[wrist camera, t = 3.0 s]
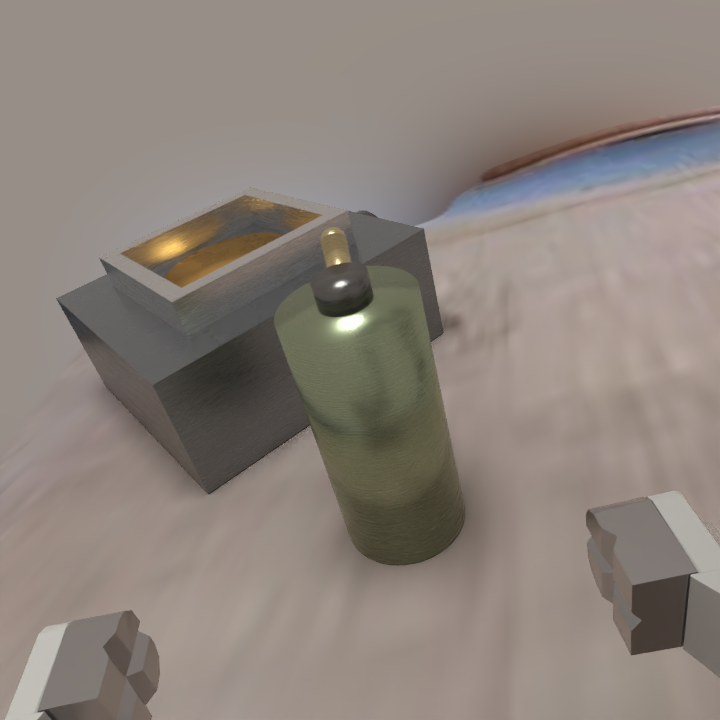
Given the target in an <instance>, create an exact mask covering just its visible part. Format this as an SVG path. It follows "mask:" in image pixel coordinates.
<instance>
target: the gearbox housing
mask: <svg viewBox="0 0 720 720" xmlns="http://www.w3.org/2000/svg"><path fill="white" fill-rule="evenodd" d="M331 227H336V228H339V229H341V230H342V231H343V232H344V233H345V235H346V238H347V243H348V247H349V251H350V255H351V260H352V262H356V263H361V264H363V265H365V266H389V267H395V268H399V269H402V270H404V271H407V272H409V273H410V274H411V275H413V276H414V277H415V278H416V279H417V281H418V283H419V287H420V292H421V297H422V302H423V307H424V312H425V317H426V322H427V326H428V331H429V336H430V341H432V340H434V339H435V338H436V337H438V336H439V335H441V334H442V333H443V328H442V323H441V318H440V312H439V307H438V302H437V296H436V291H435V286H434V281H433V275H432V270H431V265H430V260H429V254H428V249H427V244H426V239H425V233H424V229H422V228H418V227H414V226H410V225H405V224H401V223H397V222H393V221H388V220H384V219H380V218H378V217H376V216H375V215H374V214H372V213H370V212H367V211H358V212H356V213H355V212H351V211H347V210H343V209H339V208H335V207H330V206H326V205H322V204H318V203H314V202H309V201H305V200H301V199H297V198H293V197H288V196H284V195H280V194H276V193H271V192H267V191H263V190H259V189H255V188H248V189H245V190H243V191H241V192H239V193H237V194H235V195H232V196H230V197H228V198H226V199H224V200H222V201H219V202H217V203H215V204H213V205H211V206H209V207H207V208H204V209H202V210H200V211H198V212H196V213H194V214H191V215H189V216H187V217H185V218H183V219H181V220H178V221H176V222H174V223H172V224H170V225H168V226H165V227H163V228H161V229H159V230H157V231H155V232H152V233H151V234H148V235H146V236H144V237H142V238H140V239H137V240H135V241H133V242H131V243H129V244H127V245H124V246H122V247H120V248H118V249H116V250H114V251H111V252H109V253H107V254H105V255H103V256H101V257H99V259H100V261H101V263H102V265H103V267H104V268H105V271H106V272H107V275H105V276H102V277H101V278H98V279H96V280H94V281H92V282H90V283H88V284H86V285H84V286H82V287H79V288H77V289H75V290H73V291H71V292H69V293H67V294H65V295H63V296H61V297H59V298H56V299H57V301H58V302H59V304H60V306H61V308H62V310H63V311H64V313H65V315H66V317H67V318H68V320H69V322H70V324H71V326H72V327H73V329H74V331H75V333H76V334H77V336H78V338H79V340H80V342H81V343H82V345H83V347H84V349H85V350H86V352H87V354H88V356H89V357H90V359H91V361H92V363H93V365H94V366H95V368H96V370H97V372H98V373H99V375H100V377H101V379H102V380H103V382H104V384H105V386H106V387H107V388H108V389H109V390H110V391H111V392H112V393H113V394H114V395H115V396H116V397H117V399H118V400H119V401H120V402H121V403H122V404H123V405H124V406H125V407H126V408H127V409H128V410H129V411H130V412H131V413H132V414H133V415H134V416H135V417H136V418H137V420H138V421H139V422H140V423H141V424H142V425H143V426H144V427H145V428H146V429H147V430H148V431H149V432H150V433H151V434H152V435H153V436H154V437H155V438H156V439H157V440H158V442H159V443H160V444H161V445H162V446H163V447H164V448H165V449H166V450H167V451H168V452H169V453H170V454H171V455H172V456H173V457H174V458H175V459H176V460H177V461H178V463H179V464H180V465H181V466H182V467H183V468H184V469H185V470H186V471H187V472H188V473H189V474H190V475H191V476H192V477H193V478H194V479H195V480H196V481H197V482H198V483H199V485H200V486H201V487H202V488H203V489H204V490H205V491H206V492H207V493H208V494H209V493H211V492H212V491H214V490H215V489H217V488H218V487H219V486H221V485H222V484H224V483H225V482H227V481H228V480H230V479H231V478H233V477H234V476H235V475H237V474H238V473H240V472H241V471H243V470H244V469H246V468H247V467H249V466H250V465H252V464H253V463H254V462H256V461H257V460H259V459H260V458H262V457H263V456H265V455H266V454H268V453H269V452H270V451H272V450H273V449H275V448H276V447H278V446H279V445H281V444H282V443H284V442H285V441H286V440H288V439H289V438H291V437H292V436H294V435H295V434H297V433H298V432H300V431H301V430H302V429H304V428H305V427H307V426H308V425H310V423H309V420H308V417H307V415H306V412H305V409H304V406H303V403H302V401H301V398H300V395H299V392H298V389H297V387H296V384H295V381H294V378H293V376H292V373H291V370H290V367H289V364H288V362H287V359H286V356H285V353H284V350H283V348H282V345H281V342H280V339H279V337H278V334H277V331H276V328H275V325H274V315H275V313H276V310H277V309H278V307H279V305H280V304H281V303H282V302H283V301H284V300H285V299H286V298H287V297H288V296H289V295H290V294H291V293H293V292H294V291H295V290H297V289H298V288H300V287H301V286H303V285H305V284H307V283H309V282H310V281H311V279H312V278H313V276H314V275H315V274H317V273H318V272H320V271H321V270H323V269H325V268H326V266H325V262H324V257H323V252H322V248H321V243H320V239H321V235H322V233H323V232H324V231H325V230H326V229H328V228H331Z"/></svg>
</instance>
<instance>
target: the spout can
mask: <svg viewBox="0 0 720 720" xmlns="http://www.w3.org/2000/svg"><path fill="white" fill-rule="evenodd" d="M320 243H321V248H322V252H323V257H324V262H325V266H326V268H325V269H323V270H321V271H320V272H318V273H317V274H315V275H314V276H313V278H312V279H311V281H310V282H309V283H307V284H305V285H303V286H301V287H300V288H298V289H297V290H295V291H294V292H293V293H291V294H290V295H289V296H288V297H287V298H286V299H285V300H284V301H283V302H282V303H281V304H280V305H279V307H278V309H277V310H276V313H275V315H274V325H275V328H276V331H277V334H278V337H279V339H280V342H281V345H282V348H283V350H284V353H285V356H286V359H287V362H288V364H289V367H290V370H291V373H292V376H293V378H294V381H295V384H296V387H297V389H298V392H299V395H300V398H301V401H302V403H303V406H304V409H305V412H306V415H307V417H308V420H309V423H310V426H311V428H312V431H313V434H314V437H315V440H316V442H317V445H318V448H319V451H320V454H321V456H322V459H323V462H324V465H325V467H326V470H327V473H328V476H329V479H330V481H331V484H332V487H333V490H334V492H335V495H336V498H337V501H338V504H339V506H340V509H341V512H342V515H343V518H344V520H345V523H346V526H347V529H348V531H349V534H350V537H351V540H352V542H353V543H354V545H355V546H356V548H357V549H358V550H359V551H360V552H361V553H362V554H364V555H365V556H367V557H368V558H370V559H372V560H374V561H377V562H380V563H384V564H390V565H407V564H413V563H417V562H421V561H424V560H427V559H429V558H431V557H433V556H435V555H437V554H439V553H440V552H441V551H443V550H444V549H446V548H447V547H448V546H449V545H450V544H451V543H452V542H453V541H454V540H455V538H456V537H457V535H458V534H459V532H460V530H461V528H462V526H463V522H464V517H465V507H464V502H463V498H462V493H461V488H460V483H459V478H458V473H457V468H456V463H455V458H454V454H453V449H452V444H451V439H450V434H449V429H448V424H447V419H446V414H445V410H444V405H443V400H442V395H441V390H440V385H439V380H438V375H437V370H436V366H435V361H434V356H433V351H432V346H431V341H430V336H429V331H428V326H427V322H426V317H425V312H424V307H423V302H422V297H421V292H420V287H419V283H418V281H417V279H416V278H415V277H414V276H413V275H411V274H410V273H409V272H407V271H404V270H402V269H399V268H395V267H389V266H365V265H363V264H361V263H356V262H352V260H351V255H350V251H349V247H348V243H347V238H346V235H345V233H344V232H343V231H342V230H341V229H339V228H336V227H331V228H328V229H326V230H325V231H324V232H323V233H322V235H321V239H320Z"/></svg>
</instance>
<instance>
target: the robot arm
mask: <svg viewBox="0 0 720 720" xmlns="http://www.w3.org/2000/svg"><path fill="white" fill-rule="evenodd" d="M586 525H587V527H588V529H589V531H590V533H591V535H592V537H591V538H590V539H589V541H588V542H587V549H588V558H589V562H590V566H591V570H592V573H593V576H594V579H595V581H596V584H597V586H598V588H599V590H600V593H601V595H602V597H604V598H605V599H607V600H608V601H610V602H611V603H613V620H614V622H615V624H616V626H617V628H618V630H619V632H620V634H621V636H622V638H623V640H624V642H625V644H626V646H627V648H628V650H629V652H630V654H631V655H637V654H642V653H648V652H654V651H659V650H665V649H670V648H676V647H682V646H684V647H683V649H684V650H685V651H687V652H688V653H689V654H690V655H692V656H693V657H694V658H696V659H697V660H698V661H699V662H701V663H702V664H703V665H705V666H706V667H707V668H708V669H710V670H711V671H712V672H714V673H715V674H716V675H717V676H719V677H720V546H719V544H718V543H717V541H716V540H715V539H714V537H713V536H712V535H711V533H710V532H709V531H708V529H707V528H706V526H705V525H704V524H703V522H702V521H701V520H700V518H699V517H698V516H697V514H696V513H695V511H694V510H693V509H692V507H691V506H690V505H689V503H688V502H687V501H686V499H685V498H684V496H683V495H682V494H681V493H679V492H678V491H676V490H675V491H670V492H666V493H661V494H657V495H652V496H647V497H641V498H636V499H632V500H628V501H623V502H619V503H615V504H610V505H606V506H602V507H597V508H593V509H589V510H588V511H587V514H586ZM139 623H140V621H139V619H138V618H137V617H136V615H135V614H134V613H133V611H132V610H130V611H123V612H118V613H112V614H107V615H102V616H96V617H91V618H86V619H81V620H75V621H71V622H66V623H61V624H56V625H51V626H46V627H45V628H44V629H43V630H42V631H41V632H40V634H39V635H38V636H37V639H36V641H35V644H34V647H33V649H32V652H31V654H30V657H29V659H28V662H27V665H26V667H25V670H24V672H23V675H22V677H21V680H20V682H19V685H18V688H17V690H16V693H15V695H14V698H13V700H12V703H11V706H10V708H9V711H8V713H7V716H6V718H5V719H4V720H151V719H152V715H151V713H150V711H149V710H148V708H147V706H146V704H147V703H148V702H149V700H150V699H151V698H152V696H153V695H154V694H155V692H156V691H157V688H158V682H159V676H160V667H159V655H158V652H157V649H156V646H155V644H154V642H153V641H152V639H151V637H150V636H148V635H146V634H143V633H141V632H139V631H138V628H139Z"/></svg>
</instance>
